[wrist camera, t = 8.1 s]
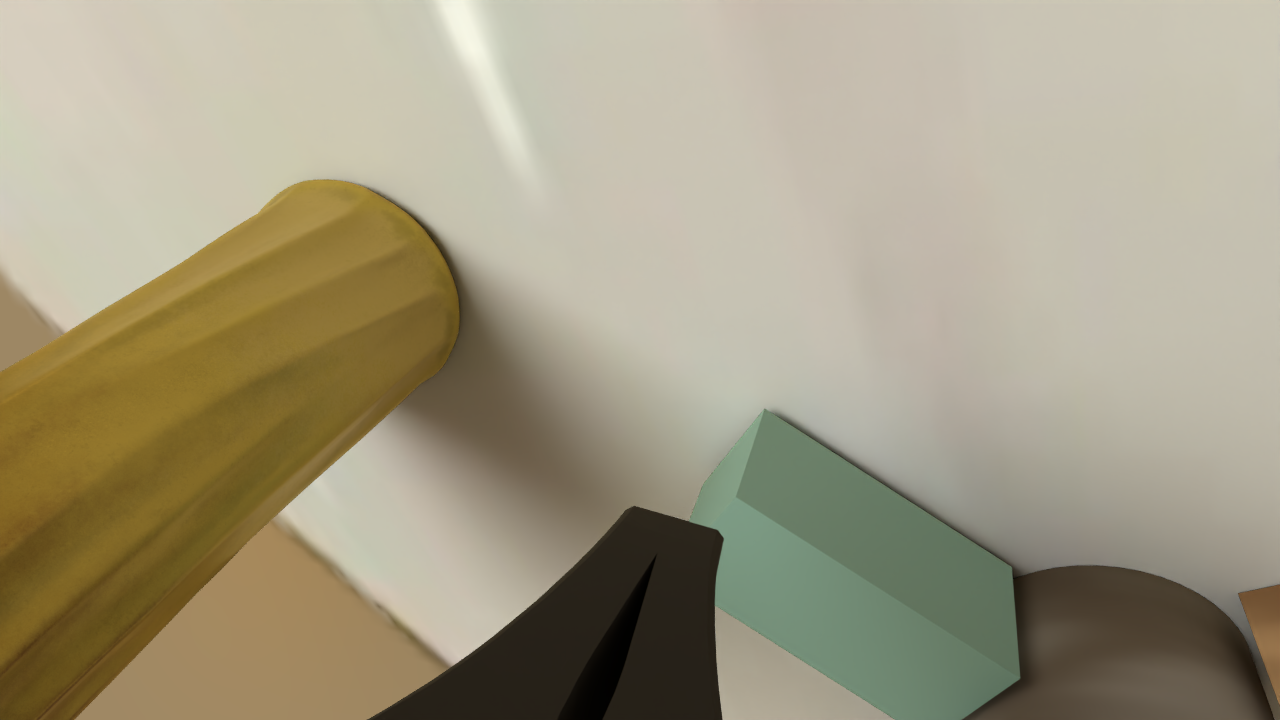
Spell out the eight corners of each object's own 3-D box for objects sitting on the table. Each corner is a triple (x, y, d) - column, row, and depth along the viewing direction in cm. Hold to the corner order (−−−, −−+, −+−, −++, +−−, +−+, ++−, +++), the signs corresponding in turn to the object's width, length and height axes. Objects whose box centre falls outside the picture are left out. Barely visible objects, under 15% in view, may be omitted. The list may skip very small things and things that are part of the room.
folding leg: (1012, 567, 22) (1020, 678, 19) (933, 630, 24) (930, 741, 21) (764, 408, 22) (736, 496, 19) (703, 484, 24) (668, 575, 21)
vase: (467, 406, 25) (34, 918, 13) (275, 360, 26) (-275, 789, 15) (459, 199, 22) (-120, 632, 10) (241, 158, 23) (-498, 501, 11)
